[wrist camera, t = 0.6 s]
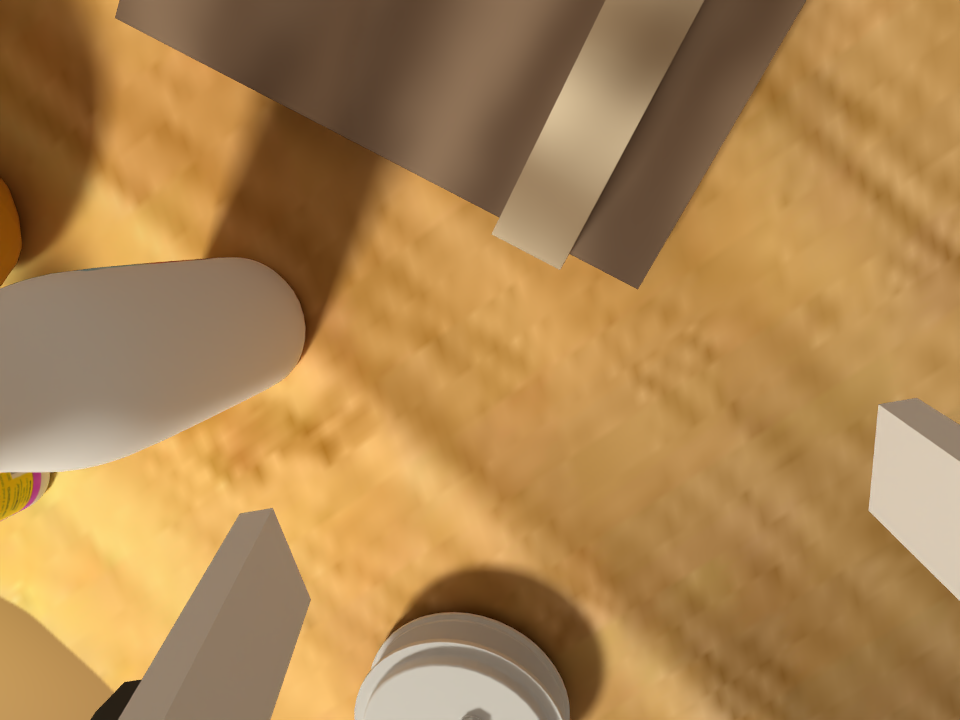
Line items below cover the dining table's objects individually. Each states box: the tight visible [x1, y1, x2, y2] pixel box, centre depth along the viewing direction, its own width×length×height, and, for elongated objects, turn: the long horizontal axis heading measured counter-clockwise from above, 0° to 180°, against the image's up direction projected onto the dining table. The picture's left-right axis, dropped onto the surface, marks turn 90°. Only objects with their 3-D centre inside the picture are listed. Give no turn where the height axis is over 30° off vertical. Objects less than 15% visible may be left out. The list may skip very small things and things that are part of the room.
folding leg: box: [492, 0, 704, 270], centre depth 21 cm, size 17×3×4 cm, turn 154°
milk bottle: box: [0, 257, 306, 473], centre depth 23 cm, size 8×8×20 cm
